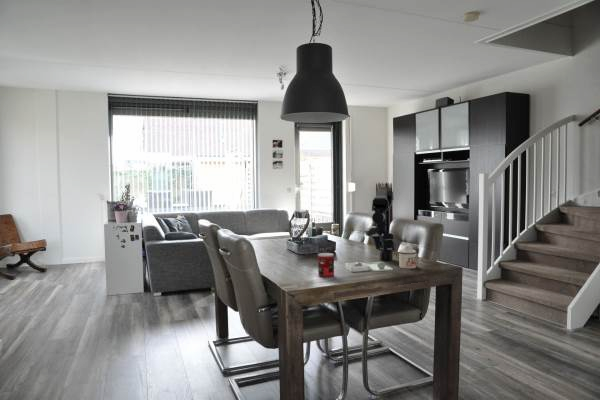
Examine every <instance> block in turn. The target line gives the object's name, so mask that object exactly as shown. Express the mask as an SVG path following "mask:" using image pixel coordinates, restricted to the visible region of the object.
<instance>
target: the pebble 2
mask: <svg viewBox="0 0 600 400" xmlns="http://www.w3.org/2000/svg"><path fill="white" fill-rule="evenodd" d="M378 262H379V263H378V264H377V266H378V268H379V269H384V267H385V265H386V263H385V261H381V260H380V261H378Z"/></svg>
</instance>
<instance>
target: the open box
mask: <svg viewBox="0 0 600 400" xmlns="http://www.w3.org/2000/svg"><path fill="white" fill-rule="evenodd" d="M355 263H356V262H346V263H344V269H346V270H347V271H349V272H351V273H357V272H369V271H370V270H371V269H370V266H369V265H367V264H365V263H366V262H363V261H361V262H360V263H361V264H362V266H358V267H355Z"/></svg>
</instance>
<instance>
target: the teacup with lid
mask: <svg viewBox="0 0 600 400" xmlns="http://www.w3.org/2000/svg"><path fill="white" fill-rule="evenodd" d="M398 255H399V257H398V258H399V259H398V260H399V268H401V269H415V268H417V262H418V260H419V254H418V253H417V251H416V250H415V249H413V248H411V247H410V246H409V245H406V246H405V247H403V249H400V250H399V251H398Z"/></svg>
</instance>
